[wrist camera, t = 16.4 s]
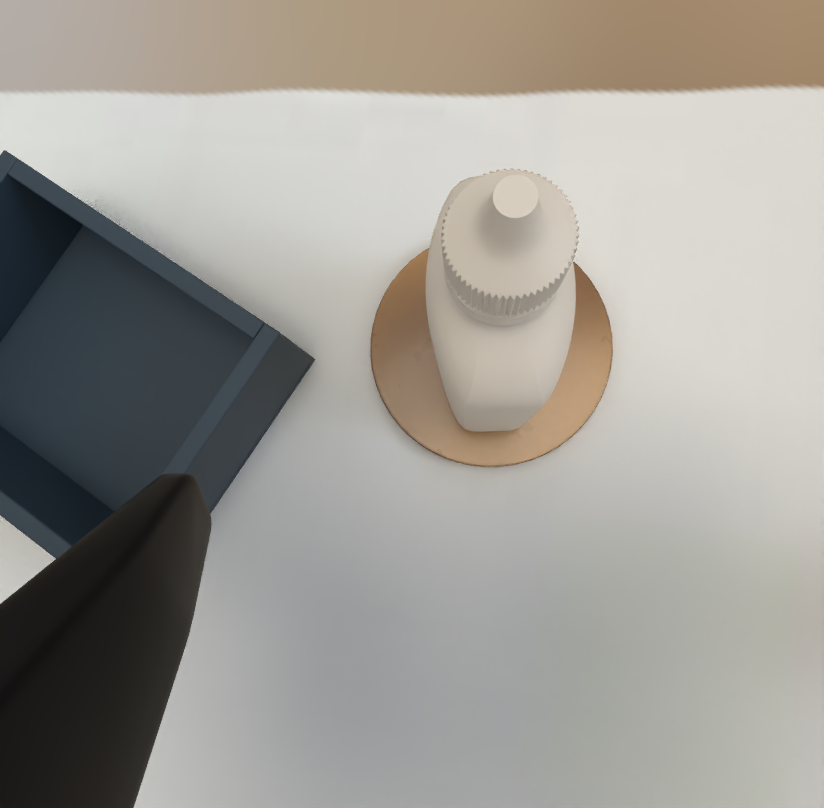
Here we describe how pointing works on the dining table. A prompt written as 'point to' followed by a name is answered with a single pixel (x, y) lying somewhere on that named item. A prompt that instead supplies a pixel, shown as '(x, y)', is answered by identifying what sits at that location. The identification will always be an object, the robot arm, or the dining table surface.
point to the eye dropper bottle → (501, 296)
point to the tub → (116, 367)
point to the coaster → (425, 395)
